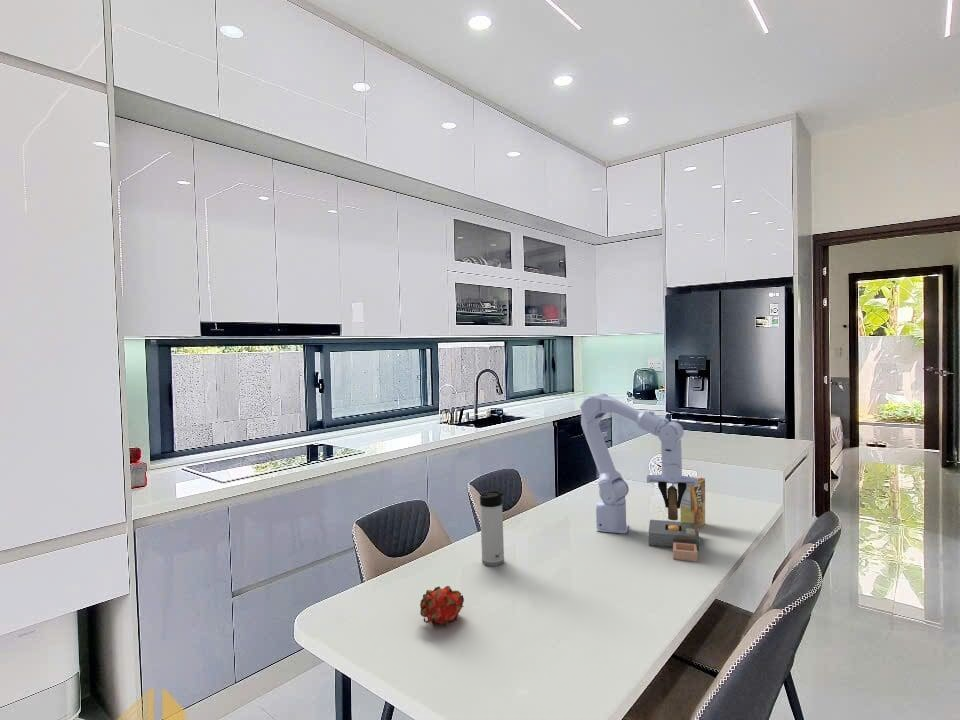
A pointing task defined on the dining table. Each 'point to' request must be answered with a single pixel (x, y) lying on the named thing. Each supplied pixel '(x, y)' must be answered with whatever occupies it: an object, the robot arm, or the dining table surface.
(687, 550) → the holder
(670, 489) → the brown wooden cylinder
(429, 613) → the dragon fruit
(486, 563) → the travel mug
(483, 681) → the dining table surface
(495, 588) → the dining table surface
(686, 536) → the panel
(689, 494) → the candy box
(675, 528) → the button
